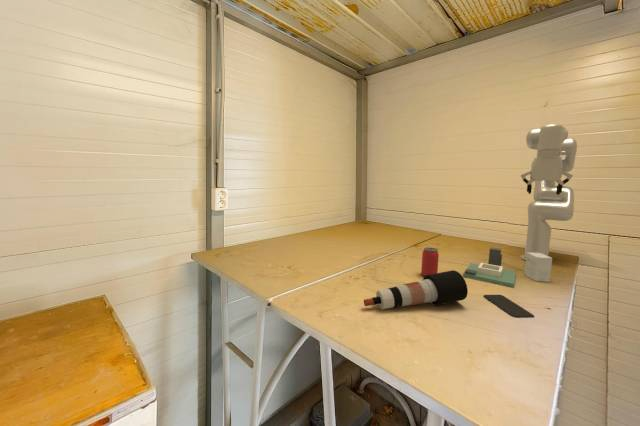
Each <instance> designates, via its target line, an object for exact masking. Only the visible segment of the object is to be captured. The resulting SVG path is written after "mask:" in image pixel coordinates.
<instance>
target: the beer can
mask: <svg viewBox="0 0 640 426" xmlns="http://www.w3.org/2000/svg"><path fill="white" fill-rule="evenodd" d="M439 256H440V255H439V251H438V249H437V248H435V247H424V248H423V250H422V254H421V271H420V273H421V275H422V276H423V277H424V276H426V275H430V274H435V273H439V272H438V269H439V268H438V267H439Z"/></svg>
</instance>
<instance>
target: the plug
mask: <svg viewBox="0 0 640 426" xmlns="http://www.w3.org/2000/svg"><path fill="white" fill-rule="evenodd" d="M488 254H489V255H488V263H487V264H491V265H496V266H502V263H503V262H502V261H503V254H502V248H500V247H493V246H490V247H489V253H488Z"/></svg>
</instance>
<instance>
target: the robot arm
mask: <svg viewBox="0 0 640 426" xmlns="http://www.w3.org/2000/svg"><path fill="white" fill-rule="evenodd" d="M568 136H569V130H568V129H567V128H566V127H565V126H563V125H562V124H557V123H554V124H546V125H542V126H541V127H540V128H532V129H529V131H528V132H527V134H526V137H525V140H526V146H527V147H528V149H531V150H536V151H537V152H536V157H534V159H533V161H532V162H531V165H530V169H531V170H530V171H527V172H525V173H522V174H521V175H520V177H521V179H522V181H523V182H524V183H525V184H526V185H527V186H526V192H527V193H528V194H530V195H531V194H532V187H533V184H532V183H534V189H533V195H532V196H533V200H534V201H531V202H530V203H529V204H528V206H527V217H528V220H527V221H528V222H527V223H528V224H527V231H526V232H527V233H526V240H525V249H524V254H521V255H520V259H522V260H524V261H526V256H527V252H531V253H542V254H544V255H546V256H549V252H550V244H551V236H552V227H551V225H550V224H549V223H548V222H547V221H559V222H568V221H570V220H572V218H573V217H574V212H575V211H574V210H575V206H574V205H575V192H574V189H573V188H572V187H571V186H568V185H565V184H567V183H568V182H569V181H570V180H571V179H572V178H573V177H574V175H573V174H572V173H569V172H571V171H572V170H573V169H574V167H575V160H576V157H577V156H576V155H577V151H578V149H577V148H578V143H577V140H576V138H573V137H568ZM529 175H530V176H529ZM526 176H529V178H530V179H529V180H528V179H527V177H526ZM562 176H565V177H566V178H565V179H563V180H561V179H562ZM556 183H557V185H556Z"/></svg>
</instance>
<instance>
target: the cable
mask: <svg viewBox="0 0 640 426" xmlns="http://www.w3.org/2000/svg"><path fill="white" fill-rule="evenodd" d="M468 291H469V290H468V284H467V283H466V280H465V277H463V274H461V273H460V272H459V271H457V270H454V269H453V270H452V269H451V270H446V271H440V272H437V273H435V274H430V275H426V276H423V278H422V279H421V280H418V281H413V282H408V283H407V282H406V283H403V284H401V285H396V286H393V287H389V288H384V289H380V290H379V289H378V290H377V291H376V295H375V296H374V297H370V298H365V299H363V304H364V306H365V307H369V306H375V305H378V306H379V308H380V309H381V310H387V309H391V308H392V309H395V308H400V307H401V308H402V307H405V306H410V307H411V306H414V305H420V304H425V303H430V304H431V305H433V306H441V305H445V304H450V303H455V302H459V301H464V300H466V298H468V293H469V292H468Z"/></svg>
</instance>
